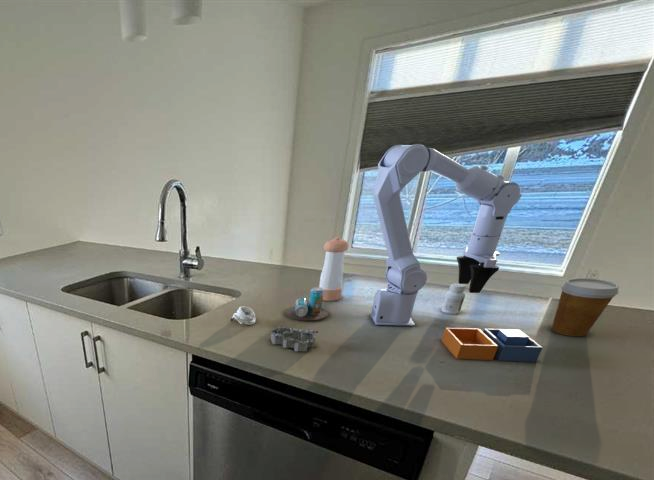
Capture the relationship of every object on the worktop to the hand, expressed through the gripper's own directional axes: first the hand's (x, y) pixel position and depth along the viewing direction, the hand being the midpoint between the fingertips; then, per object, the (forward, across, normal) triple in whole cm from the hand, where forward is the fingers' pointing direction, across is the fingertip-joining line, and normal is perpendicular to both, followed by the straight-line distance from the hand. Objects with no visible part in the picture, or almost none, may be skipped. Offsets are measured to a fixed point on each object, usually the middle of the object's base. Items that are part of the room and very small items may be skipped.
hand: (468, 287), depth 107 cm
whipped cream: (+9, -7, +58) cm, 59 cm away
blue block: (+8, -21, -3) cm, 23 cm away
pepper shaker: (+9, +16, +32) cm, 37 cm away
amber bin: (+8, -21, +5) cm, 24 cm away
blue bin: (+8, -21, -3) cm, 23 cm away
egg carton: (+9, -22, +44) cm, 50 cm away
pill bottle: (+9, +5, +1) cm, 10 cm away
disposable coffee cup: (+9, -8, -20) cm, 24 cm away
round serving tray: (+9, 0, +40) cm, 41 cm away
